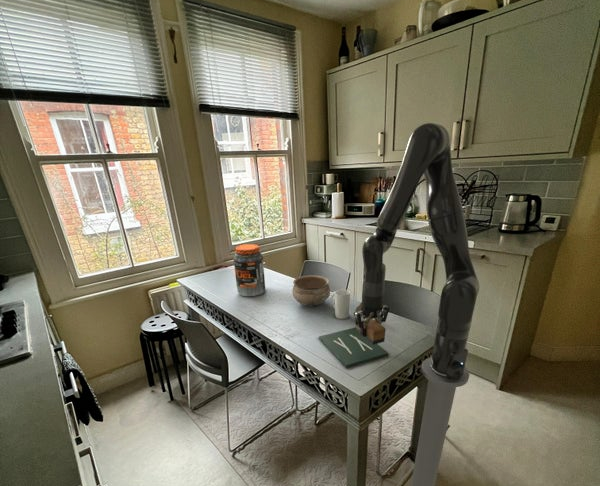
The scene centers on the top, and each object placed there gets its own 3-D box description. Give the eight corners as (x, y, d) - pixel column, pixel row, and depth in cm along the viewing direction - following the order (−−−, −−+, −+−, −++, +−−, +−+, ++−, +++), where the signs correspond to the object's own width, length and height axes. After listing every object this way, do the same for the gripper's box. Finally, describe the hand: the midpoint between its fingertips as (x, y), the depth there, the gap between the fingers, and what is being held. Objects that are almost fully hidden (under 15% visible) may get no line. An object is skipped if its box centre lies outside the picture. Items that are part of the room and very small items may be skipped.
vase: (353, 323, 140) (353, 305, 136) (355, 316, 146) (356, 299, 142) (368, 325, 138) (370, 307, 134) (370, 318, 144) (372, 301, 140)
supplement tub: (232, 295, 173) (226, 249, 163) (245, 285, 187) (240, 242, 176) (258, 298, 169) (254, 251, 158) (270, 288, 182) (266, 243, 171)
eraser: (384, 341, 113) (385, 328, 111) (372, 344, 111) (373, 331, 109) (367, 328, 122) (368, 315, 120) (356, 330, 121) (356, 318, 118)
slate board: (388, 355, 117) (388, 352, 117) (346, 367, 111) (346, 365, 111) (356, 329, 136) (356, 326, 135) (318, 338, 130) (318, 336, 129)
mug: (352, 316, 147) (353, 292, 142) (342, 320, 143) (343, 296, 138) (336, 309, 154) (336, 286, 149) (326, 313, 150) (326, 290, 145)
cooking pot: (281, 301, 164) (280, 279, 159) (309, 292, 175) (308, 271, 170) (313, 318, 146) (313, 293, 141) (342, 306, 157) (342, 283, 152)
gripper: (361, 299, 104) (358, 343, 111) (397, 292, 109) (392, 334, 116) (349, 291, 110) (347, 333, 117) (383, 284, 115) (380, 325, 122)
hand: (370, 333), depth 117 cm, fingers closed on eraser, 5 cm apart
